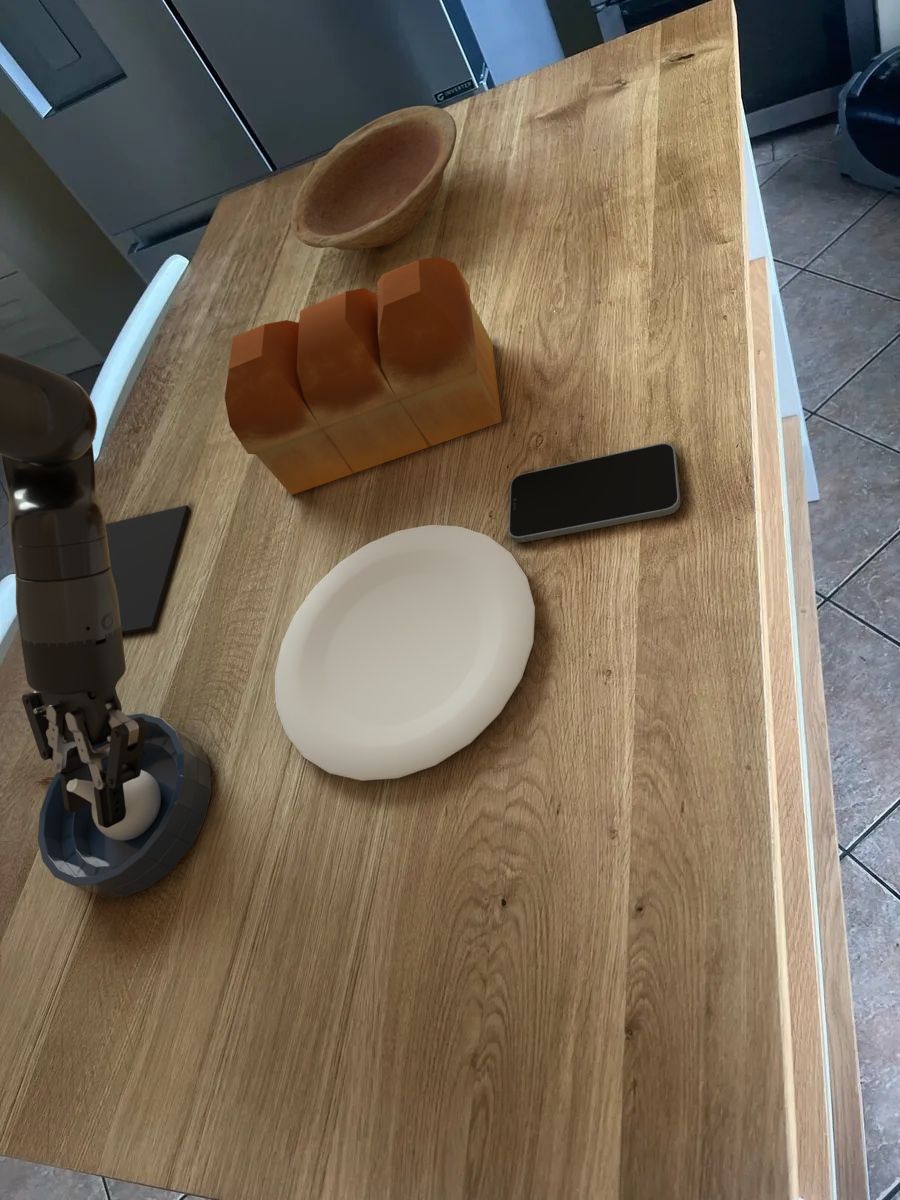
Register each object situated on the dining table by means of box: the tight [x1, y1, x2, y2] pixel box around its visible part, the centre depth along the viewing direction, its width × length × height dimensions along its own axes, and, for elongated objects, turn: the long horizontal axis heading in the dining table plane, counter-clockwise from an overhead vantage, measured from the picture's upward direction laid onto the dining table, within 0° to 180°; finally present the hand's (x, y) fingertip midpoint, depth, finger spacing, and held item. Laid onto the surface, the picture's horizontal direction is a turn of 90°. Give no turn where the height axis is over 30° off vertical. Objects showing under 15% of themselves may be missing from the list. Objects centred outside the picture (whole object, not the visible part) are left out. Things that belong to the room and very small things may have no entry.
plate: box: [274, 524, 537, 782], centre depth 79 cm, size 25×25×2 cm
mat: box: [106, 505, 190, 636], centre depth 101 cm, size 16×16×1 cm
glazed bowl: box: [37, 712, 212, 898], centre depth 80 cm, size 15×15×4 cm
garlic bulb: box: [67, 770, 161, 841], centre depth 78 cm, size 6×6×8 cm
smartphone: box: [508, 442, 681, 543], centre depth 79 cm, size 7×1×15 cm
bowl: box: [290, 105, 458, 251], centre depth 114 cm, size 24×24×8 cm
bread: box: [224, 256, 503, 496], centre depth 91 cm, size 25×12×15 cm, turn 93°
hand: (95, 814), depth 77 cm, fingers closed on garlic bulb, 4 cm apart
